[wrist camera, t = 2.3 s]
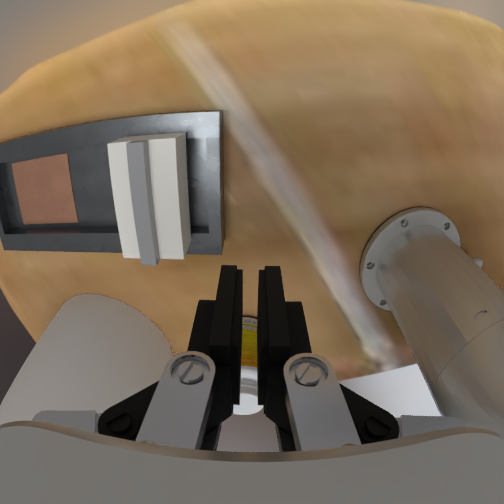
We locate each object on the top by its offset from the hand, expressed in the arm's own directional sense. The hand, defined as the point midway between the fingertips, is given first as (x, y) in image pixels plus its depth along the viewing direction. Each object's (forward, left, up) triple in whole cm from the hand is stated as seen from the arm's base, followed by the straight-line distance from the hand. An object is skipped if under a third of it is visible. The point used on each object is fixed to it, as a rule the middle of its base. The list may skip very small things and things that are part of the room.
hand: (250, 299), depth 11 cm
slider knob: (+8, 0, -15) cm, 17 cm away
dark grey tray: (+16, 0, -17) cm, 23 cm away
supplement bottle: (+1, +18, -17) cm, 25 cm away
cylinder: (+19, +22, -17) cm, 34 cm away
